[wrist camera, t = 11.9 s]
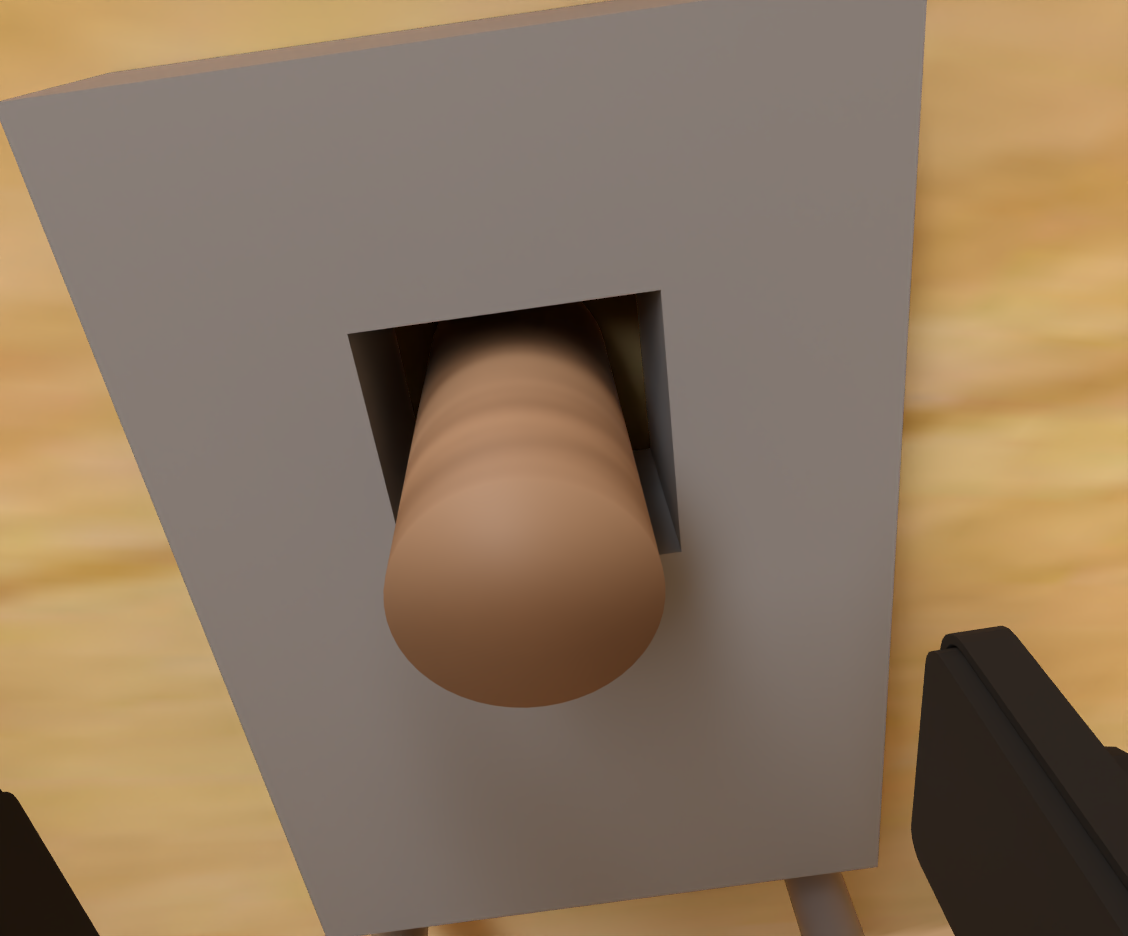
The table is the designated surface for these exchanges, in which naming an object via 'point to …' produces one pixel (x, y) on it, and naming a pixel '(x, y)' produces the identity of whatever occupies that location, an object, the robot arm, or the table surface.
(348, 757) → the socket block
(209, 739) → the table surface
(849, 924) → the pink topped stand
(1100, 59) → the table surface
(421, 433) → the walnut peg
